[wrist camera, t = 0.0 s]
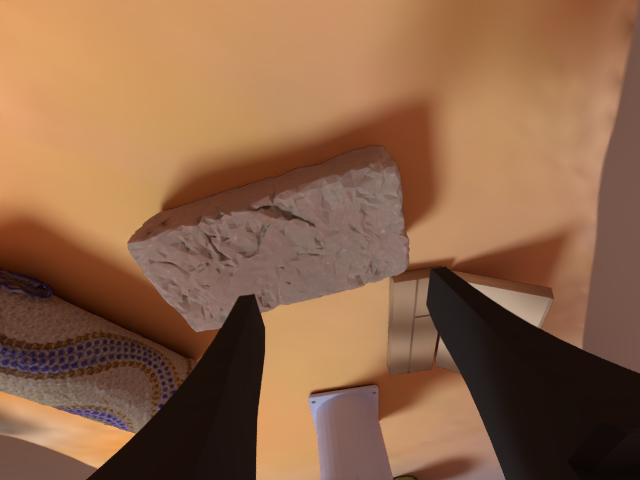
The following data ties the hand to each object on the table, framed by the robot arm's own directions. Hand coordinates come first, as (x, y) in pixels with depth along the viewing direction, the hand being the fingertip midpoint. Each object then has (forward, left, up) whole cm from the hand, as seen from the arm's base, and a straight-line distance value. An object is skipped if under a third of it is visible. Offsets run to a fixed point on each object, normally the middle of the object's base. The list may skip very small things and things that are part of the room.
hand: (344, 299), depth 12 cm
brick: (-2, +3, -11) cm, 11 cm away
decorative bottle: (-6, +21, -10) cm, 25 cm away
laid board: (-14, -7, -10) cm, 19 cm away
